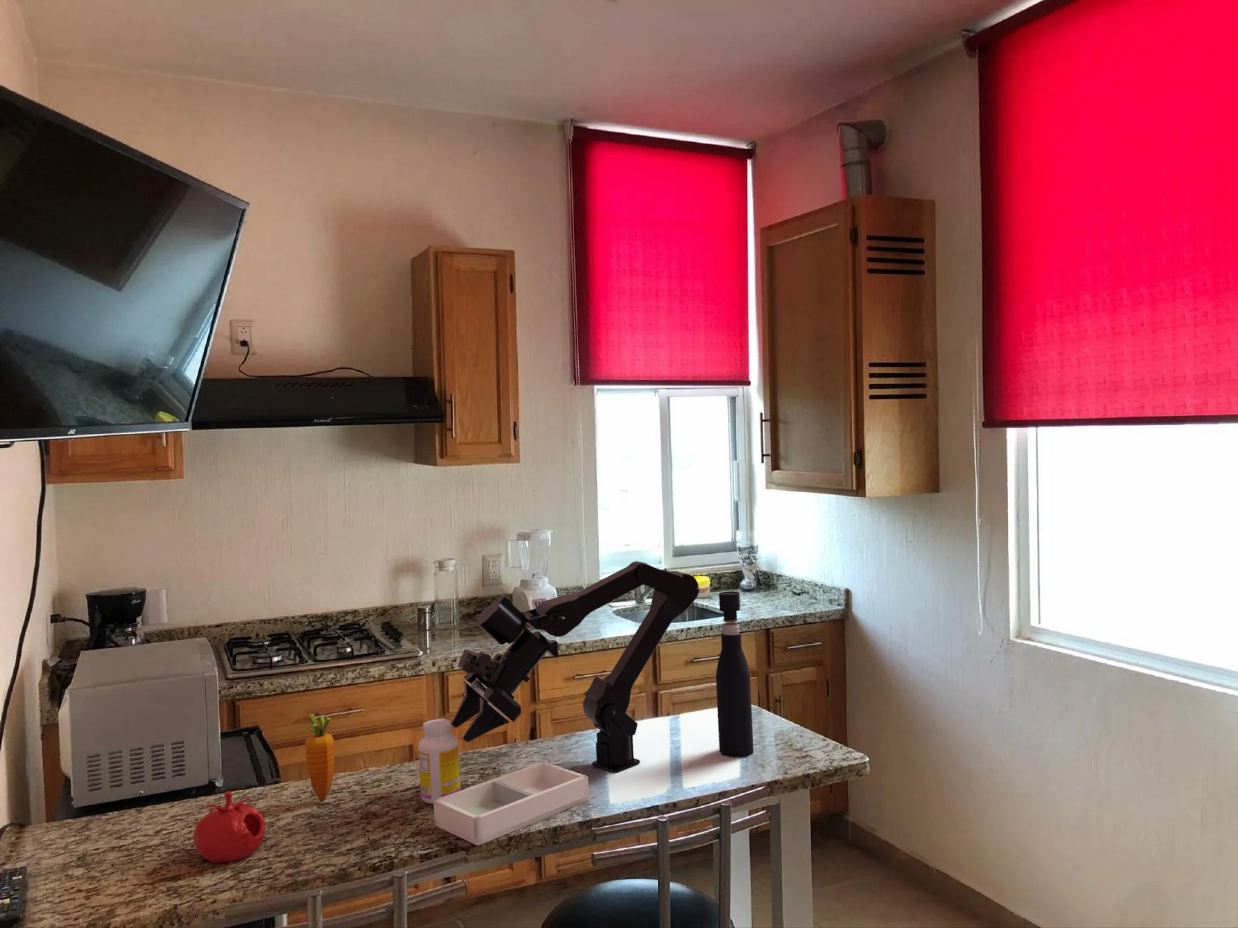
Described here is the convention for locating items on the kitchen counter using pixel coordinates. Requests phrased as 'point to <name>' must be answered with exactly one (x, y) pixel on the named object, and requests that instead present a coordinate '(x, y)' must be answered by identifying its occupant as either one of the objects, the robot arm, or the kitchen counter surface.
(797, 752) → the kitchen counter surface
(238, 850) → the red tomato
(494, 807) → the slot organizer
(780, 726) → the kitchen counter surface
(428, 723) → the supplement bottle
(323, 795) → the carrot
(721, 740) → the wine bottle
